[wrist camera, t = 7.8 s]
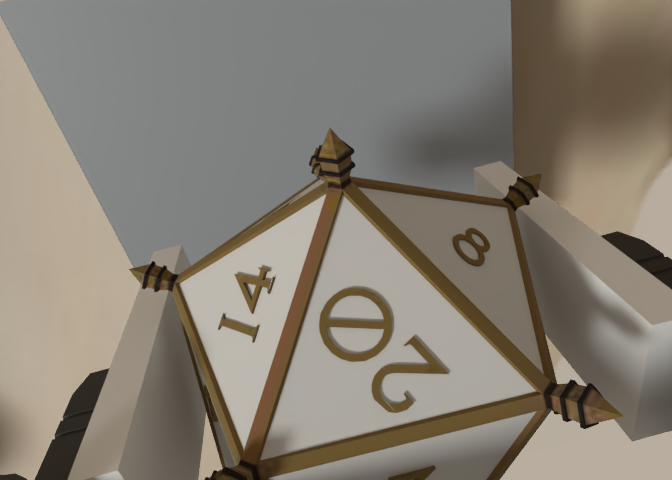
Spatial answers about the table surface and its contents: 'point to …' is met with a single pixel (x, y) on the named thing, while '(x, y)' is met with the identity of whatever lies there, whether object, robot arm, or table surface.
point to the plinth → (263, 101)
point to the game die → (372, 334)
